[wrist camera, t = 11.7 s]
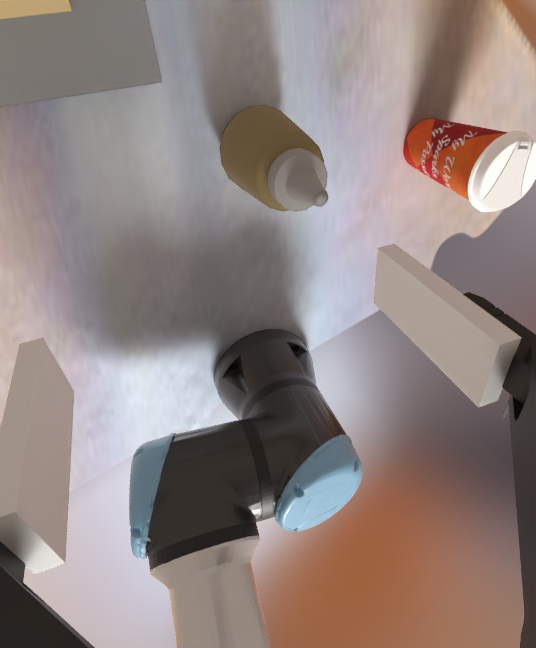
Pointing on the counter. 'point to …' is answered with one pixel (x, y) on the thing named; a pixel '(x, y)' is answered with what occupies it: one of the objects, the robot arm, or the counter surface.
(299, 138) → the squeeze bottle
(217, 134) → the counter surface
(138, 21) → the grey board with frame
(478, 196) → the paper cup
